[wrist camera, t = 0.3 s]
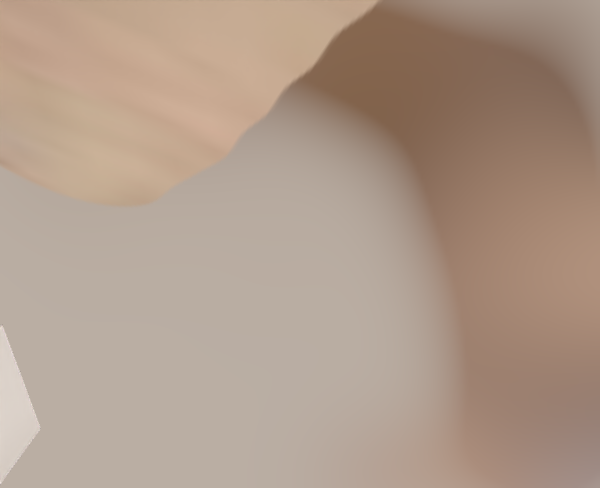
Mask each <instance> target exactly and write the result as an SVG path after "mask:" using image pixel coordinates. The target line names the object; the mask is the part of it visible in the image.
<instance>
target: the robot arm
mask: <svg viewBox="0 0 600 488" xmlns="http://www.w3.org/2000/svg"><path fill="white" fill-rule="evenodd" d="M40 429H41V428H40V425H39V423H38V420H37V417H36V415H35V412H34V409H33V406H32V404H31V401H30V398H29V396H28V393H27V390H26V387H25V385H24V382H23V379H22V377H21V374H20V371H19V369H18V366H17V363H16V360H15V358H14V355H13V352H12V349H11V347H10V344H9V342H8V339H7V336H6V333H5V331H4V328H3V325H0V484H1V483H2V481H3V480H4V478H5V477H6V476H7V474H8V473H9V471H10V470H11V469H12V467H13V466H14V464H15V463H16V462H17V460H18V459H19V458H20V456H21V455H22V454H23V452H24V451H25V449H26V448H27V447H28V445H29V444H30V443H31V441H32V440H33V438H34V437H35V436H36V434H37V433H38V431H39V430H40Z"/></svg>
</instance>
